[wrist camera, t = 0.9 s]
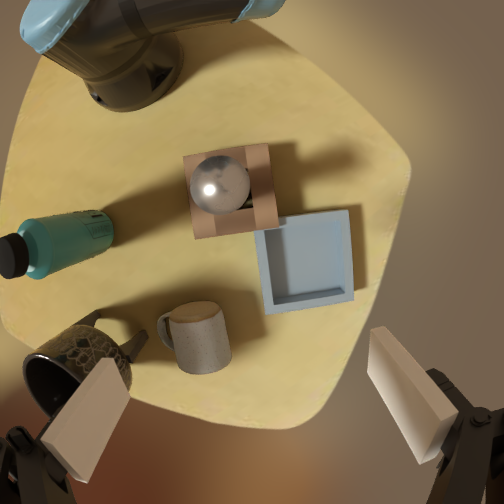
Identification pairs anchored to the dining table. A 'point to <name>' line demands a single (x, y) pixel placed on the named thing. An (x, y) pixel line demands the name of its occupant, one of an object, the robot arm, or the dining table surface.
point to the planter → (75, 362)
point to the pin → (220, 185)
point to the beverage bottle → (54, 243)
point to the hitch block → (261, 190)
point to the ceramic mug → (197, 337)
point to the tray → (306, 261)
